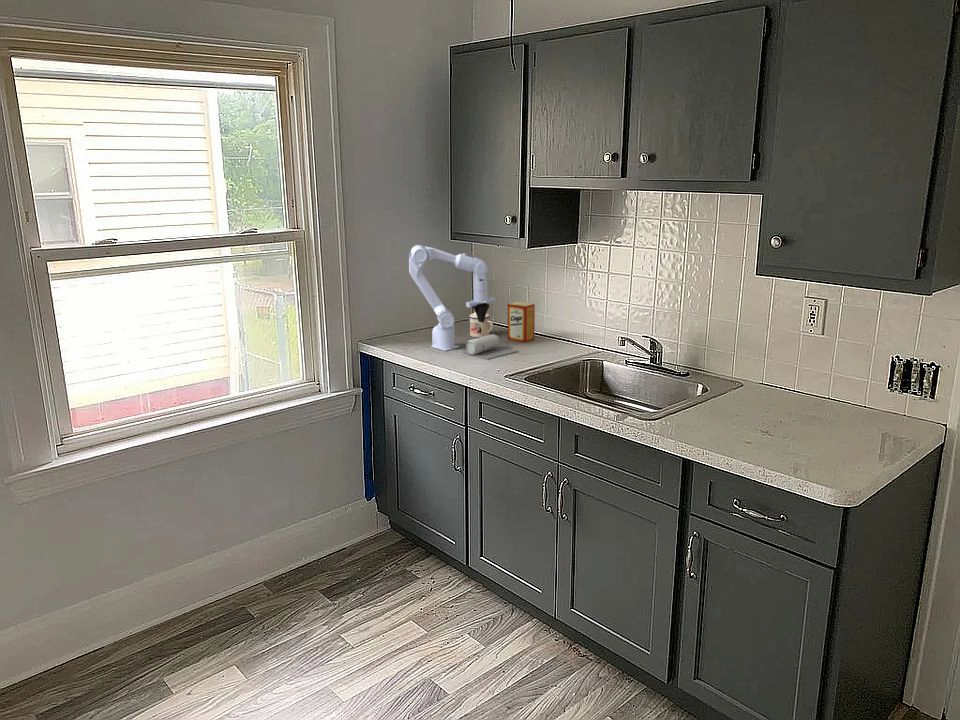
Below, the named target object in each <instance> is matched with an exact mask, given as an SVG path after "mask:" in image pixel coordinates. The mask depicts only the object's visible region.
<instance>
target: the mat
mask: <svg viewBox="0 0 960 720" xmlns="http://www.w3.org/2000/svg"><path fill="white" fill-rule="evenodd" d="M518 352H519V351H518V350H516V349H513V348H508V347H504V346H500V345H499V346H498V347H497V348H495V349H492V350H488V351H485V352H481V353H478V354H474V355H472V354H470V353H469V352H468V351H467V350H464V351H462V352H461V354H465V355H469V356H471V357H472V356H473V357H477V358H480V359H484V360H487V361H488V360H492V359H495V358H500V357H503V356H507V355H511V354H514V353H515V354H516V353H518Z"/></svg>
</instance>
